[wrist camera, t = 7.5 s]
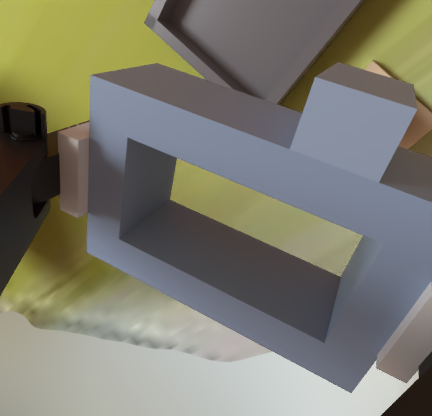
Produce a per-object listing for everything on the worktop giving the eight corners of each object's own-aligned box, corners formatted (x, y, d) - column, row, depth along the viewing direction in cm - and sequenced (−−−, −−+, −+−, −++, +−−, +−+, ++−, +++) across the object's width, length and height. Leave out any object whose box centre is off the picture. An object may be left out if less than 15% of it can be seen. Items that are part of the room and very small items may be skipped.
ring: (139, 213, 15) (86, 252, 13) (163, 10, 11) (92, 6, 9) (361, 318, 13) (351, 393, 10) (497, 109, 9) (536, 146, 6)
